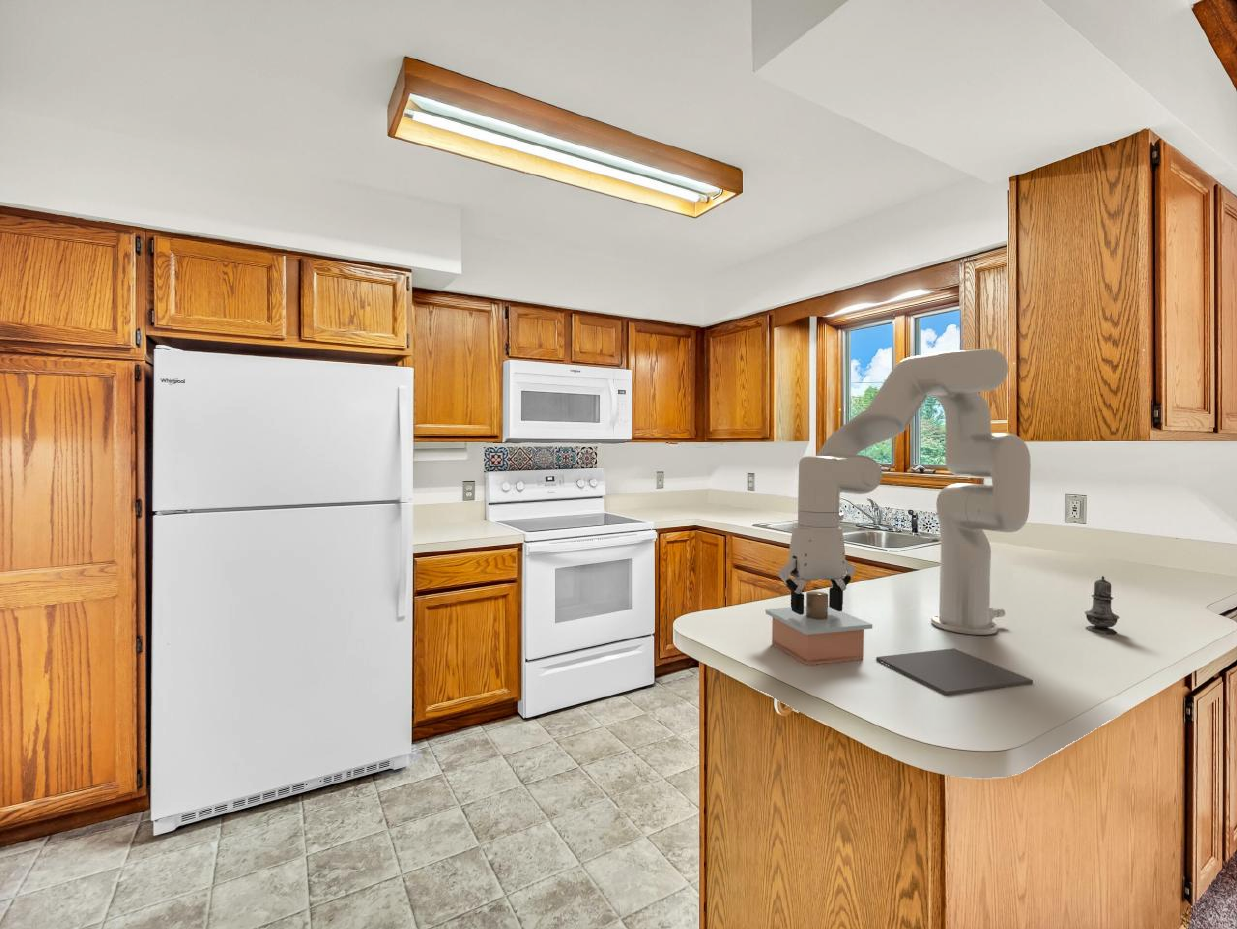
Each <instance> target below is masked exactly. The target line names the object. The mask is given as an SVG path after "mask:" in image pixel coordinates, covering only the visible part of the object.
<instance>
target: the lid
mask: <svg viewBox="0 0 1237 929" xmlns="http://www.w3.org/2000/svg"><path fill="white" fill-rule="evenodd" d="M805 594H806V595H805V605H804V614H802V615H800V614H798V613H796V612H793V611H792V608H791V606H790V607H781V608H780V607H779V608H777V607H776V608H766V609H765V614H766V615H767V616H768V615H769V616H770V617H771V618H772V619H773V618H775V619H777V620H779V621H781V622H783V623H785V624H787V625H789V626H790V627H792V628H794V629H796V630H798V631H800V632H802V633H804V634H805V635H811V634H821V633H832V632H842V631H853V630H863V629H864V630H872V629H873V624H872V623H870V622H867V621H865V620H863V619H861V618H859V617H856V616H854V615H851V614H849V613H846V612H844V611H843V610H842V611H837V610H834V609H832V608H830V607H829V594H828V593H826V592H823V591H815V590H813V591H810V590H809V591H807V592H806V593H805Z"/></svg>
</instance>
